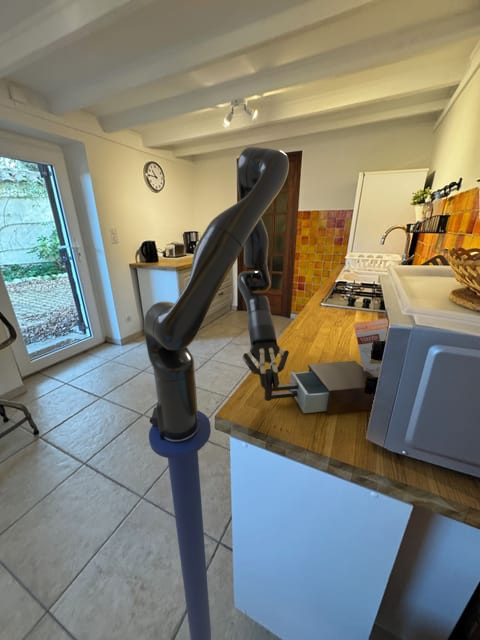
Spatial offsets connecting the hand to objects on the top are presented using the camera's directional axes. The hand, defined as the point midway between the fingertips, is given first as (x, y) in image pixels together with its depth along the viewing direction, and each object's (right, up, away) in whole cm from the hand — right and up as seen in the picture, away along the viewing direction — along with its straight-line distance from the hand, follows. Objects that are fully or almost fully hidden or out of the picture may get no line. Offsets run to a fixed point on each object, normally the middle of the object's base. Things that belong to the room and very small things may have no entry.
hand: (270, 388), depth 67 cm
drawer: (+10, -5, +6) cm, 13 cm away
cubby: (+21, -4, +7) cm, 23 cm away
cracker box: (+38, -1, +9) cm, 39 cm away
